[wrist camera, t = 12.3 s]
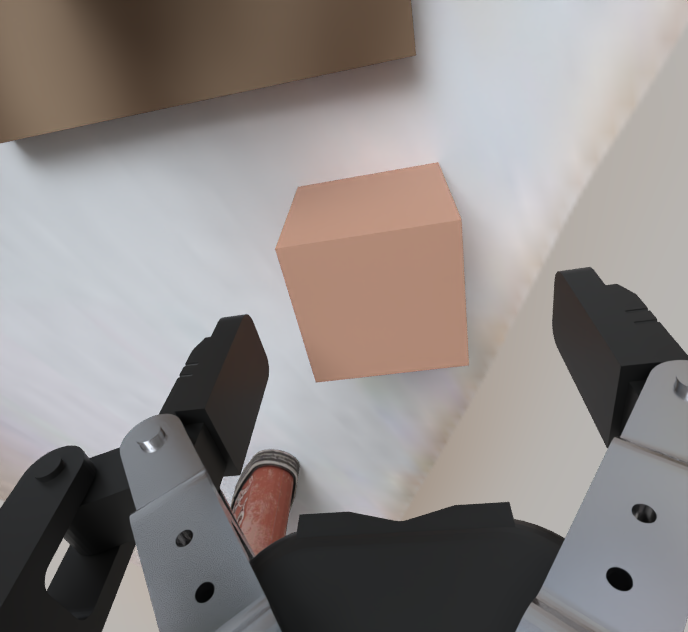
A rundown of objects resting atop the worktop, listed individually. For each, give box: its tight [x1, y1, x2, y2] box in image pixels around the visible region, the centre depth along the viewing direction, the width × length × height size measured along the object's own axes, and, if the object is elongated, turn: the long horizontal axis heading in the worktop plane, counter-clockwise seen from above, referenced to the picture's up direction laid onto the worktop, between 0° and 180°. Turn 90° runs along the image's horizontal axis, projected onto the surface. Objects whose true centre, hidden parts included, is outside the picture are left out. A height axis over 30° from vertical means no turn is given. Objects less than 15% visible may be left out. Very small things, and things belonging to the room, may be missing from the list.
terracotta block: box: [275, 162, 469, 382], centre depth 16 cm, size 5×5×5 cm
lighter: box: [230, 449, 300, 556], centre depth 23 cm, size 8×3×10 cm, turn 161°
